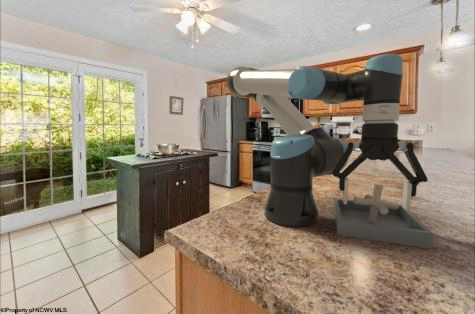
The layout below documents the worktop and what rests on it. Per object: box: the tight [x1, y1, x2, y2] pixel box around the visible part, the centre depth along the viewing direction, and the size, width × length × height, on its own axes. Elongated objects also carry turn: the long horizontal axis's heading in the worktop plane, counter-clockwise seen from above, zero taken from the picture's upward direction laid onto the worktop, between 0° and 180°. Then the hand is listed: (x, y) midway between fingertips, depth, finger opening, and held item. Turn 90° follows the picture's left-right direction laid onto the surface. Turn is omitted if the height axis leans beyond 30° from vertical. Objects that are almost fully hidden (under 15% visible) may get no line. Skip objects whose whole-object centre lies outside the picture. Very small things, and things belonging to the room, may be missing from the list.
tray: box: [333, 198, 434, 250], centre depth 56 cm, size 18×18×3 cm
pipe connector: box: [353, 183, 400, 223], centre depth 56 cm, size 10×10×10 cm
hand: (373, 205), depth 56 cm, fingers open, 13 cm apart
